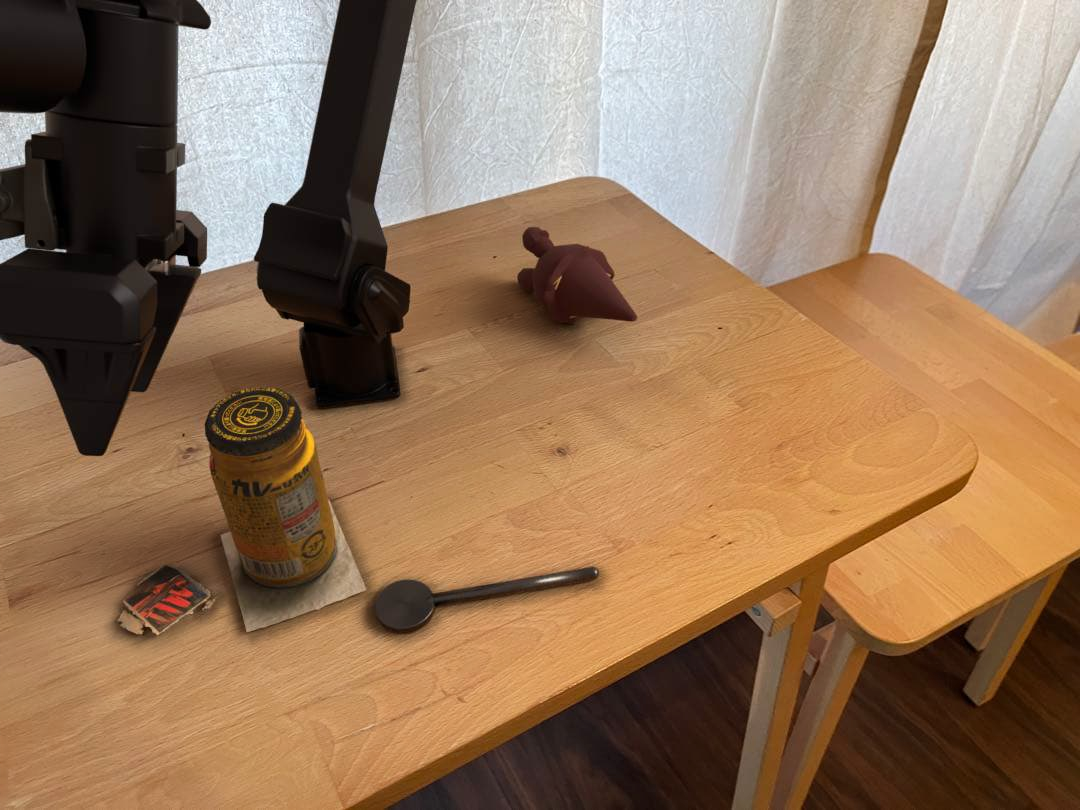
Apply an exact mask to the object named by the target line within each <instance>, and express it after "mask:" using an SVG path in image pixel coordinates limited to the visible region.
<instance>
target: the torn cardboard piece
mask: <svg viewBox="0 0 1080 810" xmlns="http://www.w3.org/2000/svg"><path fill="white" fill-rule="evenodd" d="M211 596H212V595H211V591H210V590H209V588H205V587H204V586H202V583H200V582H197V580H195V579H193V578H191V576H190V575H189V574H188V573H187V571H185V570H183V569H181V568H176V567H172V566H170V565H167V564H166V563H165V564H163V565H162V566H160V567H158V568H157V569H156V570H154V571H152V573H149V575H148V576H146V577H144V578H143V579H142V580H141V581H140V582H138V583H135V587H134V588H133V589H132V591H131V592H130V593H129V594H128V596H126V598H124V600H123V601H122V603H124V605H125V606H126V607H127V608H128V610H129V611H130V612H132V613H130V612H129V613H128V610H127V609H124V610H123V611H122V613H121V614H120V616H119V618H118V619H117V622H121V623H120V624H119V627H122V629H124V630H125V629H126V630H127V631H129V632H131V633H134V634H136V635H139V634H140V635H142V634H143V633H144V632H145V630H143V629H144V627H146V628H150V629H151V631H152V633H153V634H156V636H159V635H161V633H164V632H166V630H168V629H169V628H170V627H171V626H173V625H175V624H176V623H178V622H179V621H180V619H183V617H185V616H186V615H191V614H194V610H195V609H196V608H197V607H198V606H199V605H202V604H203V603H205V602H206V603H205V605H204V606H203V607H202V610H209V609H210V608H211V607H212V606H213V605H214V604H215V602H216V601H217V600H218V598H220V595H218V596H215V597H214V598H212V599H210V600H208V599H209V598H210V597H211ZM134 615H135V616H134ZM137 617H138V618H137Z"/></svg>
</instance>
